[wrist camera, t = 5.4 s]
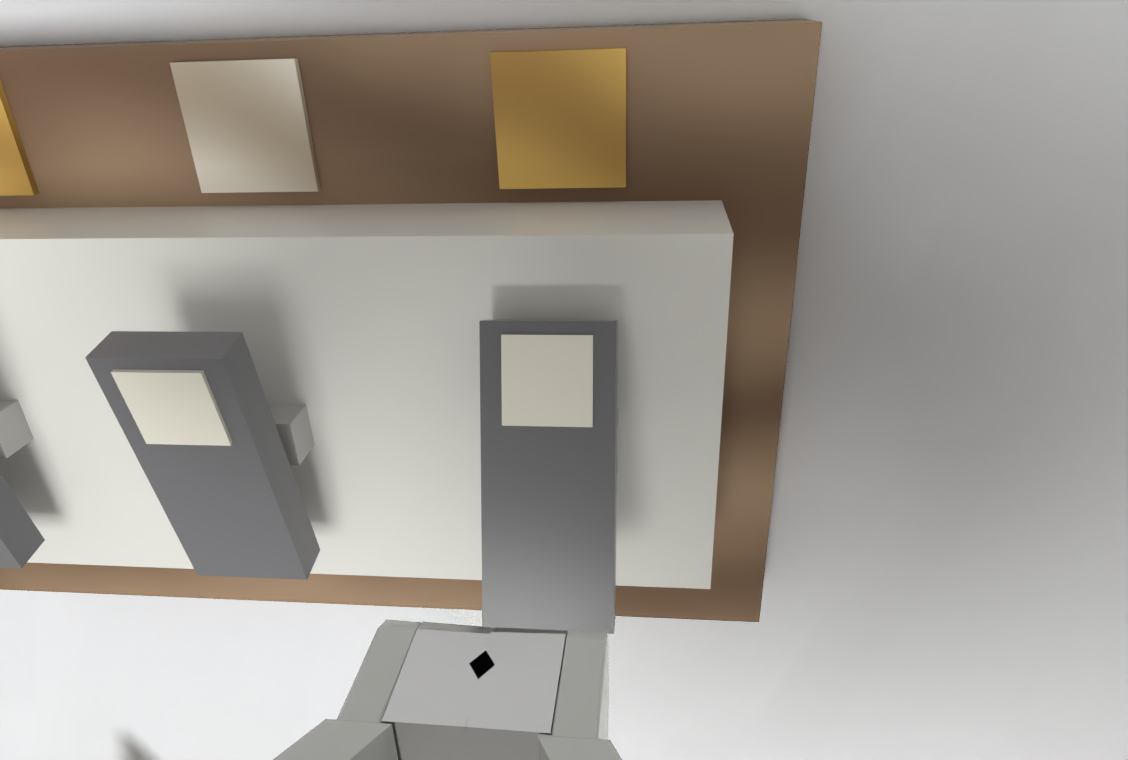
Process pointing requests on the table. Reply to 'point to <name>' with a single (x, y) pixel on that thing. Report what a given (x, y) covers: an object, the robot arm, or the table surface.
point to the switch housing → (367, 365)
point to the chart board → (452, 198)
